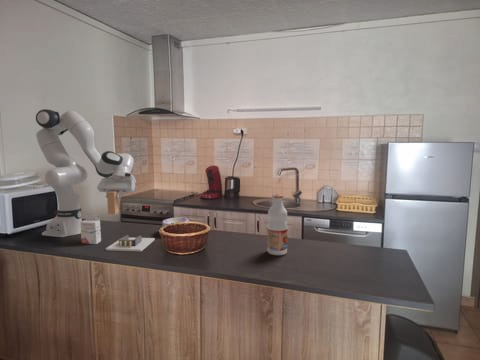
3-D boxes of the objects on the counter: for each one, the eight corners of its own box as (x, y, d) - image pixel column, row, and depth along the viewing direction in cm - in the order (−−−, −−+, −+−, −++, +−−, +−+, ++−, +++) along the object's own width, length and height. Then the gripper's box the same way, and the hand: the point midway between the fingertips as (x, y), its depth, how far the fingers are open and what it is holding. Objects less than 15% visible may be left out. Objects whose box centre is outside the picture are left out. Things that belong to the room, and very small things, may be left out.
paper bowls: (159, 232, 184) (159, 218, 183) (184, 228, 191) (184, 216, 190) (166, 239, 171) (166, 224, 170) (192, 235, 178) (192, 221, 177)
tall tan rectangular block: (108, 214, 169) (107, 192, 167) (111, 212, 173) (110, 191, 171) (115, 214, 168) (114, 192, 167) (118, 212, 172) (117, 191, 171)
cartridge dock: (105, 250, 153) (105, 242, 152) (122, 239, 171) (122, 231, 170) (141, 251, 151) (140, 243, 151) (154, 239, 169) (154, 232, 169)
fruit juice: (266, 249, 154) (266, 193, 151) (285, 248, 155) (285, 193, 151) (268, 256, 145) (269, 196, 142) (288, 255, 145) (289, 196, 142)
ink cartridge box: (81, 243, 163) (79, 216, 161) (86, 240, 168) (84, 214, 166) (96, 244, 162) (94, 216, 160) (101, 241, 167) (100, 214, 165)
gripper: (100, 173, 176) (91, 193, 167) (135, 174, 174) (127, 194, 165) (104, 180, 181) (96, 200, 172) (138, 181, 179) (131, 201, 170)
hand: (112, 197), depth 169 cm, fingers closed on tall tan rectangular block, 4 cm apart
